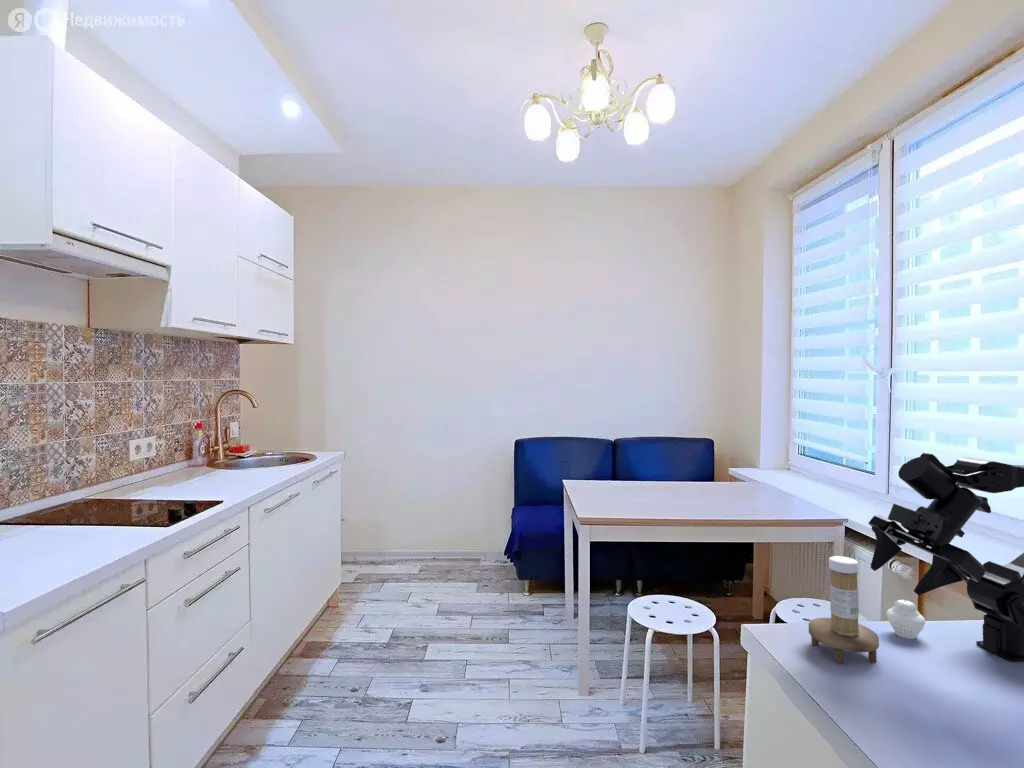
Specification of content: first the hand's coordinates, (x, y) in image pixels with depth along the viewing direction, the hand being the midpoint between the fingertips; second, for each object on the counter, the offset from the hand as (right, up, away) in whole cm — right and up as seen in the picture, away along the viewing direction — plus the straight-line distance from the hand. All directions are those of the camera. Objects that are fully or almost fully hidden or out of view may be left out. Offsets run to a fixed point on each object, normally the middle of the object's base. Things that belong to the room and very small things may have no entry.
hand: (893, 580), depth 95 cm
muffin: (+8, -14, +7) cm, 17 cm away
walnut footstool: (-9, -14, +1) cm, 16 cm away
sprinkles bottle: (-9, -10, 0) cm, 13 cm away
